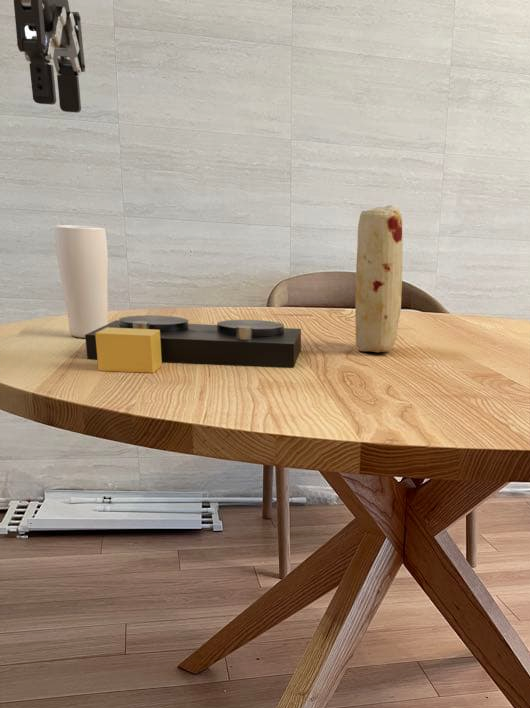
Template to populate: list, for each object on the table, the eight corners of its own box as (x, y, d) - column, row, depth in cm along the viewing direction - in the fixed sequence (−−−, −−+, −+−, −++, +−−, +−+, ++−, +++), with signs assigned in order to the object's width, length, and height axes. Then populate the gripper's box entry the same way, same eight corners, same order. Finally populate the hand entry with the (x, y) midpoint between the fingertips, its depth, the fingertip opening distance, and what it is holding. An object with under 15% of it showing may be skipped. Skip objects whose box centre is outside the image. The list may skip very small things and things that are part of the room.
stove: (87, 358, 104) (83, 321, 103) (117, 341, 117) (114, 308, 115) (293, 367, 106) (293, 331, 104) (300, 350, 119) (301, 317, 117)
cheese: (98, 370, 98) (95, 332, 96) (109, 363, 102) (106, 327, 100) (153, 372, 98) (150, 335, 96) (162, 365, 103) (159, 329, 101)
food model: (402, 357, 117) (410, 206, 110) (356, 355, 117) (360, 203, 109) (395, 346, 126) (402, 206, 119) (352, 345, 126) (356, 203, 118)
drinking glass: (61, 339, 117) (50, 226, 111) (68, 332, 123) (57, 224, 117) (112, 340, 118) (103, 228, 113) (116, 333, 124) (107, 227, 119)
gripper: (30, -50, 92) (46, 112, 98) (-25, -93, 79) (-2, 98, 85) (98, -45, 93) (110, 116, 99) (55, -86, 80) (72, 103, 86)
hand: (58, 108), depth 92 cm, fingers open, 8 cm apart
